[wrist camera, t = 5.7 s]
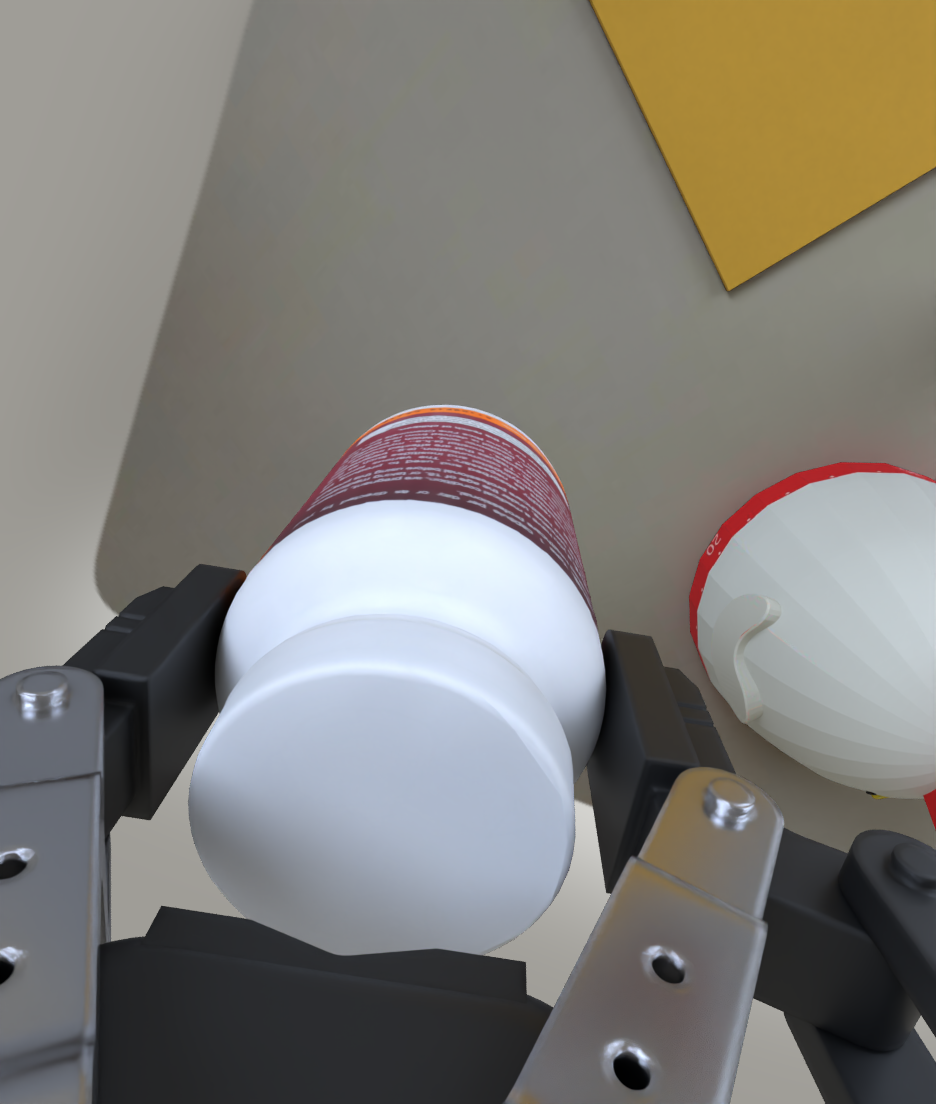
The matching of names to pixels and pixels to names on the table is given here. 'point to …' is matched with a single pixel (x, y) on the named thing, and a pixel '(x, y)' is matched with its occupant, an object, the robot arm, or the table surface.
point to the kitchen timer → (830, 624)
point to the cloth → (780, 111)
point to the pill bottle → (406, 698)
